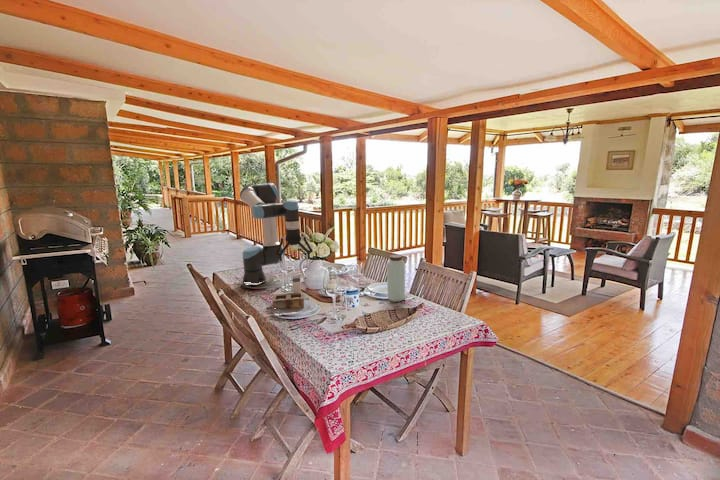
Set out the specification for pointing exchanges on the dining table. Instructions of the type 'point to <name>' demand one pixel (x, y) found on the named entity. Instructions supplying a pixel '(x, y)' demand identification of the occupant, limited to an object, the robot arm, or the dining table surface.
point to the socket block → (288, 301)
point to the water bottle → (396, 278)
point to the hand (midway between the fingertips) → (295, 265)
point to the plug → (296, 284)
